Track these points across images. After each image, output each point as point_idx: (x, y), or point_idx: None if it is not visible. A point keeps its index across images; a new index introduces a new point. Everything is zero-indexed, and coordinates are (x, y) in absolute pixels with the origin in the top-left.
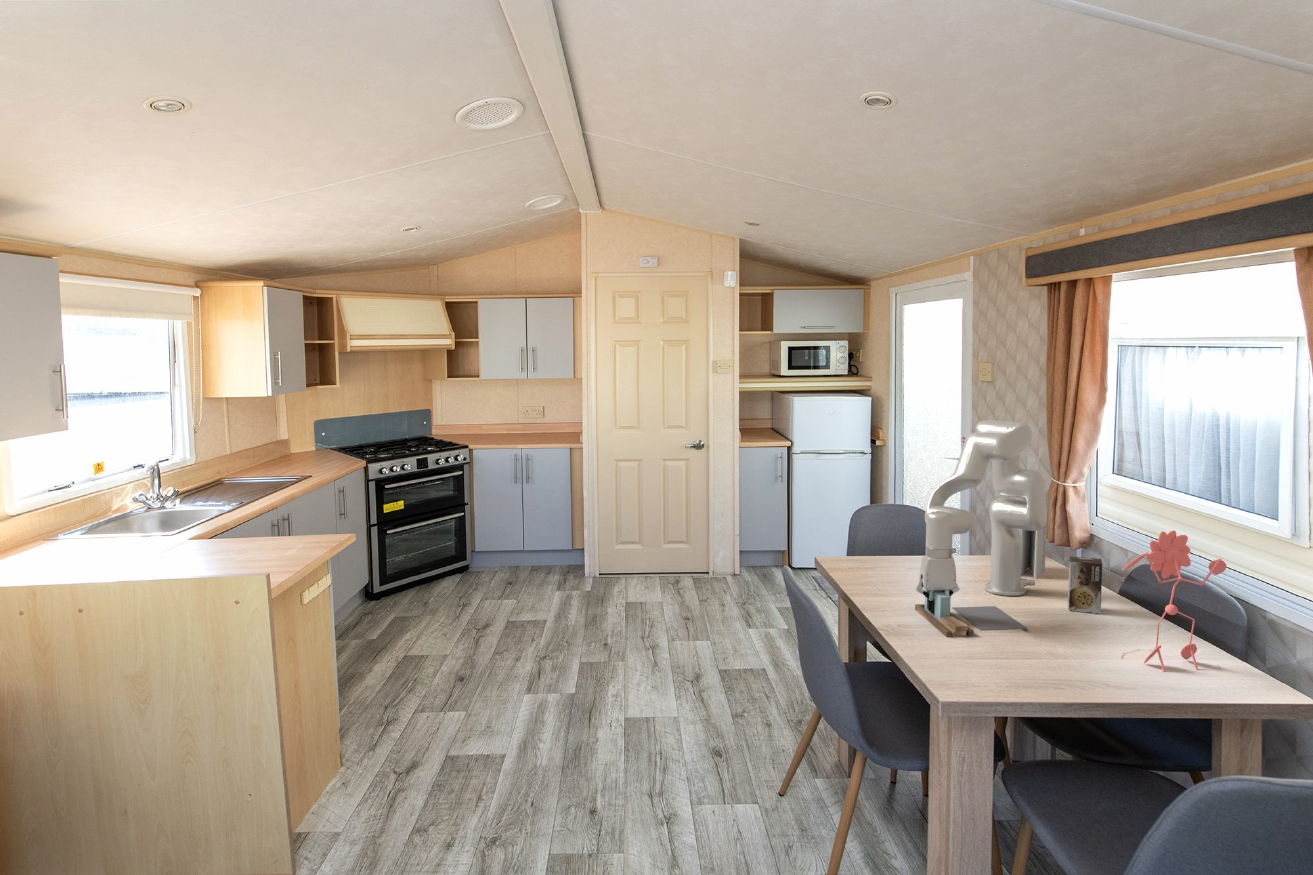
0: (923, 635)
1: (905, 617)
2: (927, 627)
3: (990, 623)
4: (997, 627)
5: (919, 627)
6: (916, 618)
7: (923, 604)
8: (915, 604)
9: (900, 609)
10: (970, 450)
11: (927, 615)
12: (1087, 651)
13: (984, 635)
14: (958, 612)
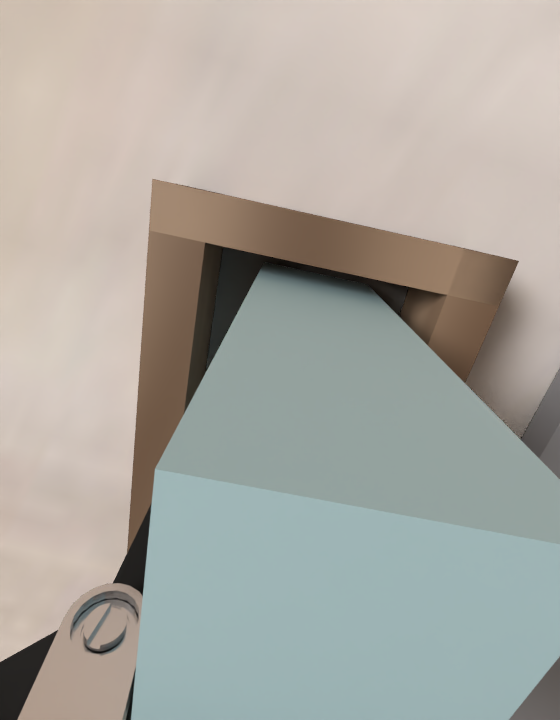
0: (31, 629)
1: (18, 309)
2: (115, 544)
3: (553, 665)
4: (526, 712)
5: (56, 530)
6: (115, 364)
7: (272, 219)
8: (156, 180)
9: (48, 7)
10: None
11: (131, 530)
12: None
13: None
14: (557, 431)
